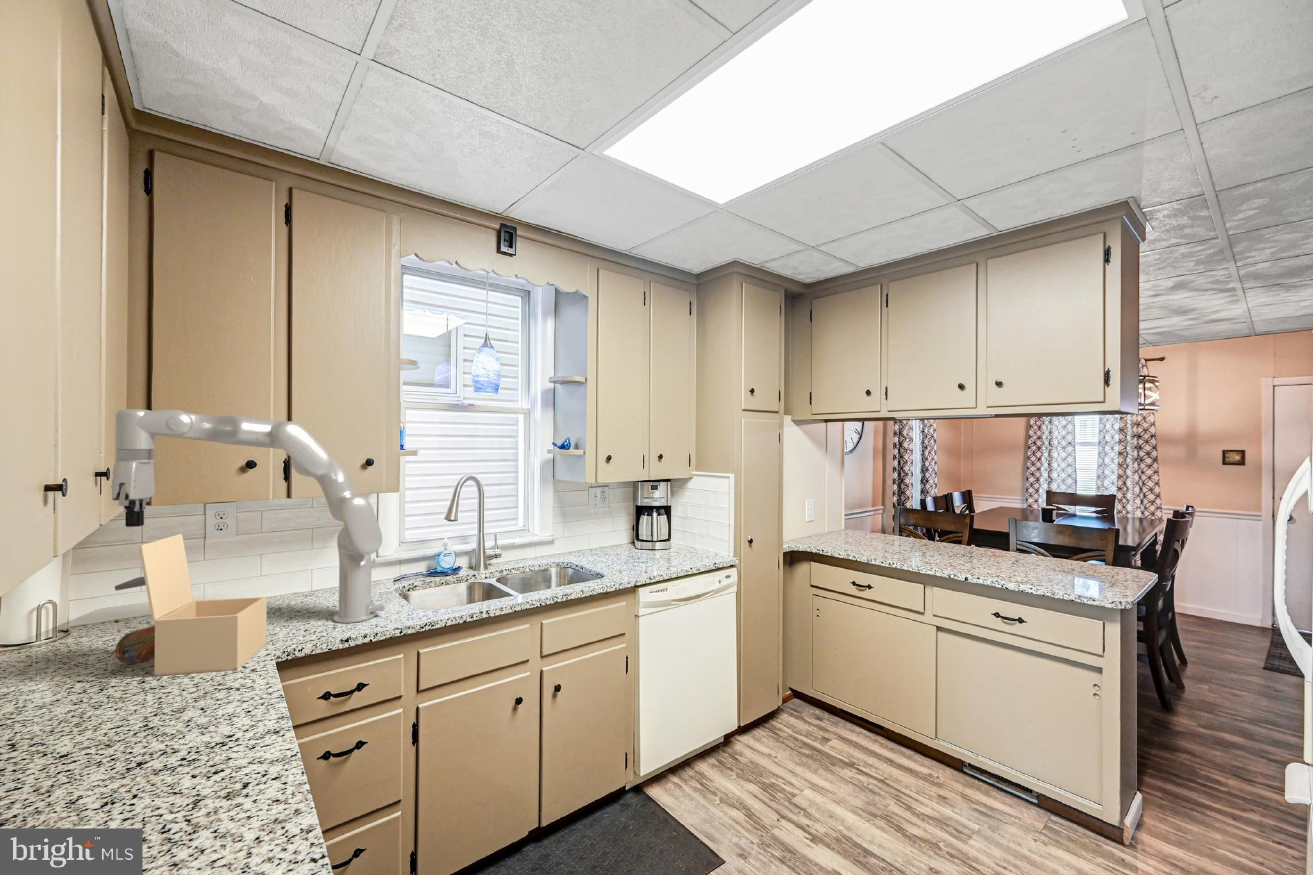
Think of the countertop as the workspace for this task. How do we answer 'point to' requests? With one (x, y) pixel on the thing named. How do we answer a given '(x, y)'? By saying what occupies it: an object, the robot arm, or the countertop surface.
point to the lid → (163, 575)
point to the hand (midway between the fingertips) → (134, 526)
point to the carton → (210, 636)
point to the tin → (137, 646)
